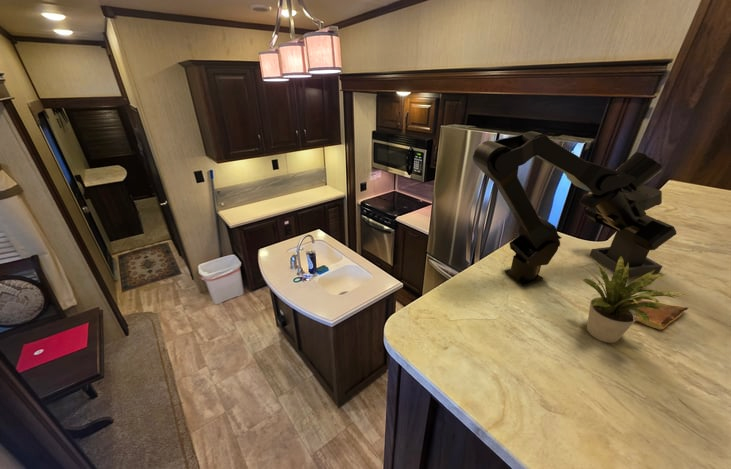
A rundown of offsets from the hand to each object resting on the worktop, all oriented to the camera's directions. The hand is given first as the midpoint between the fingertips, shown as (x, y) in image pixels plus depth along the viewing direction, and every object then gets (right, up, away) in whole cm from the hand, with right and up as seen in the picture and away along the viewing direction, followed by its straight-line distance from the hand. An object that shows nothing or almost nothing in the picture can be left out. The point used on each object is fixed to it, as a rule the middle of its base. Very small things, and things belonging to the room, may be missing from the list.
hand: (638, 239), depth 73 cm
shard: (-9, -16, -11) cm, 21 cm away
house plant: (-23, -19, -16) cm, 34 cm away
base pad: (-1, -7, +4) cm, 8 cm away
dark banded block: (-1, -6, +3) cm, 7 cm away
